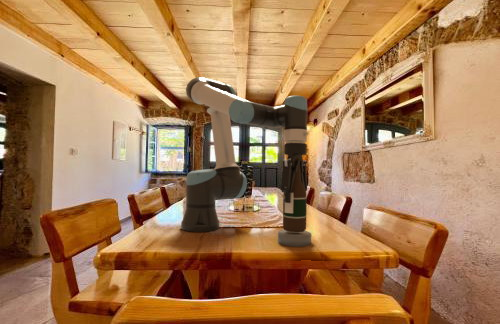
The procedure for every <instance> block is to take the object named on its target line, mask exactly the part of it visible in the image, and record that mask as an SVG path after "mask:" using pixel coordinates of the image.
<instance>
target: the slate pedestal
mask: <svg viewBox="0 0 500 324" xmlns="http://www.w3.org/2000/svg"><path fill="white" fill-rule="evenodd" d="M277 243H278V244H280V245H281V246H286V247H294V248H301V247H308V246H310V245H312V232H310V231H308V230H305V231H304V232H289V231H286V230H284V229H279V230H278V231H277Z"/></svg>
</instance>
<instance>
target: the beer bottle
mask: <svg viewBox="0 0 500 324" xmlns="http://www.w3.org/2000/svg"><path fill="white" fill-rule="evenodd" d="M297 160H299V161H301V159H300V158H297ZM292 193H293V213H285V192H283V195H282V202H283V203H282V230H286V231H289V232H304V231H307V203H308V202H307V200H308V199H307V191H306V189H305V187H304V185H303V184H302V182H301V172H300V164H299V166H298V171H297V173H296V174H295V179H294V184H293V189H292Z"/></svg>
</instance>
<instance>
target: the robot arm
mask: <svg viewBox="0 0 500 324" xmlns="http://www.w3.org/2000/svg"><path fill="white" fill-rule="evenodd" d="M185 93H186V96H187V98H188V99H189V100H190V102H192V103H195V104H197V105H200V106H205V107H206V113H207V114H209V115H210V122H211V129H212V138H213V148H214V149H213V150H214V158H215V164H216V165H215V167H214V168H206V169H196V170H192V171H190V172H188V173H187V175H186V181H185V185H186V187H185V189H186V191H185V192H186V193H185V195H186V196H185V212H184V214H183V217H182V221H181V222H180V229H181V230H182V231H186V232H193V233H201V232H202V233H203V232H204V233H205V232H212V231H216V230H218V229H220V220H219V218H218V213H217V209H216V201H222V200H234V199H239V198H241V197H242V196H243V195H244V194H245V192H246V190H247V186H248V180H247V177H246V175H245V174H244V173H243V172H241V168H240V166H239V165H238V164H237V163H236V157H235V148H234V140H233V132H232V123H231V121H232V122H234V123H237V124H240V125H249V126H250V125H251V126H257V127H259V128H261V129H262V130H273V129H279V128H284V137H283V139H284V140H283V141H284V144H283V148H284V150H283V154H284V155H285V156H287V159H283V160H282V173H281V185H280V191H281V193H284V192H285V213H293V193H292V189H293V184H294V179H295V174H296V173H297V171H298V166H299V164H300V172H301V182H302V184H303V185H304V187H305V189H306V192H307V191H308V177H307V176H308V174H307V164H308V162H307V160H304V158H303V156H305V155H307V153H308V144H307V141H308V135H309V133H308V100H307V98H306V97H305V96H301V95H290V96H287V97H286V98H285V99H284V102H283V103H284V104H282V105H278V106H270V105H266V104H262V103H257V102H253V101H250V100H247V99H244V98H241V97H239V96H237V95H236V91H235V89H234V87H232V85H230V84H227V83H226V82H221V81H217V80H213V79H210V78H207V77H206V78H205V77H195V78H192V79H191V80H189V81H188V83H187V85H186V87H185ZM297 158H300V159H301V161H299V160H297Z"/></svg>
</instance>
